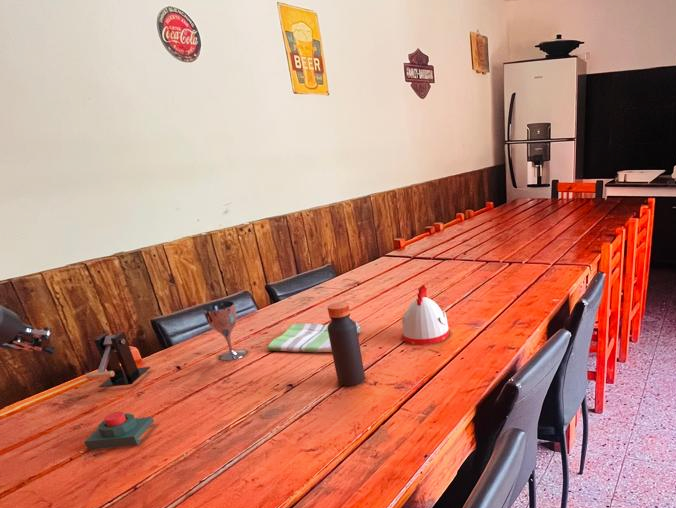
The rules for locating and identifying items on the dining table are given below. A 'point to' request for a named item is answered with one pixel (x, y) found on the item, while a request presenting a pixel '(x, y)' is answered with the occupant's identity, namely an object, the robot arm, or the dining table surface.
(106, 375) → the lever handle
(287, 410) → the dining table surface
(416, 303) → the kitchen timer
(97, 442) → the button housing
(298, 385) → the dining table surface
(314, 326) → the dish towel
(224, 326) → the silver goblet
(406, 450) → the dining table surface
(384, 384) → the dining table surface
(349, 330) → the bottle
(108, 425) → the button
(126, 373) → the black lever stand
